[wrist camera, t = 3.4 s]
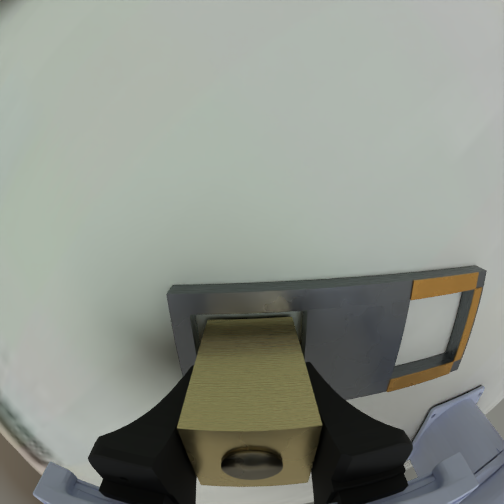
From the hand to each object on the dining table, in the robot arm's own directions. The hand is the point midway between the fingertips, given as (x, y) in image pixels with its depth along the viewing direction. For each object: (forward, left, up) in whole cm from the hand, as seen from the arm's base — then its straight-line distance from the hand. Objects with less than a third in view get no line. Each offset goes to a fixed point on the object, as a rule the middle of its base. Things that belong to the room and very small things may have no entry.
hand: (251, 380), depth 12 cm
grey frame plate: (0, -6, -3) cm, 7 cm away
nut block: (0, 0, -2) cm, 2 cm away
